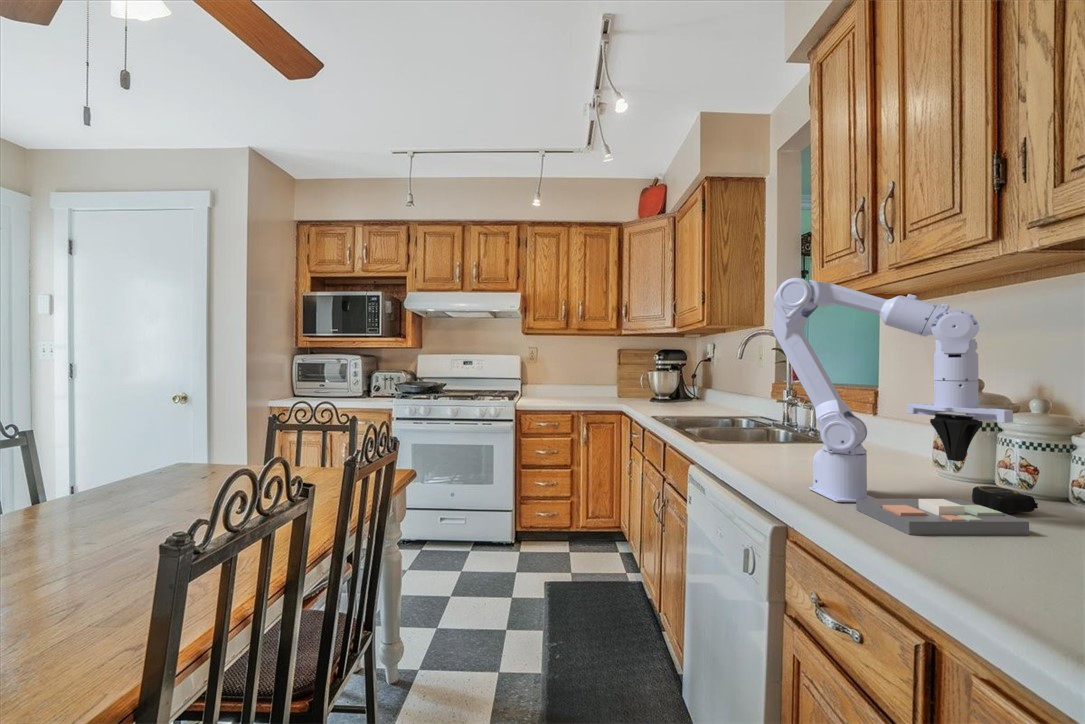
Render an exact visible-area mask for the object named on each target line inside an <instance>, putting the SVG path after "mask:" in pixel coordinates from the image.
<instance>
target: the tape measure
mask: <svg viewBox="0 0 1085 724" xmlns="http://www.w3.org/2000/svg"><path fill="white" fill-rule="evenodd" d="M971 499H972V503H973V504H976V505H981V506H984V507H987V508H990V509H993V510H996V511H999V512H1002V513H1004V514H1014V513H1016V514H1017V513H1030V512H1034V511H1035V509H1036V510H1037V509H1038V508H1039V507H1038V505H1039V503H1038V502H1036V500H1035V498H1034V497H1033V496H1031V495H1028V494H1025V493H1021V492H1019V491H1016V490H1013V489H1010V488H1005V487H999V486H990V485H979V486H974V487H973V488H972V493H971Z"/></svg>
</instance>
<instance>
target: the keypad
mask: <svg viewBox="0 0 1085 724" xmlns="http://www.w3.org/2000/svg"><path fill="white" fill-rule="evenodd" d="M919 499H920V498H876V499H856V502H855V504H856V505H855V507H856V511H858V512H860V513H862V514H864V515H866V516H869V517H871V518H872V519H875V520H877V521H879V522H881V523H883V524H886V525H888V526H889V527H892V528H894V529H896V530H898V531H900V532H902V533H904V534H906V535H908V536H915V535H916V536H921V535H922V536H943V535H945V536H950V535H951V536H967V535H968V536H1014V535H1015V536H1029V535H1030V521H1028V520H1026V519H1023V518H1018V517H1015V516H1013V515H1010V514H1008V513H1003V516H976V515H973V514H971V513H968V512H965V515H957V516H954V515H941V516H938V515H935V514H933V513H930V512H928V511H925V510H922V509H920V508H919ZM943 499H944V500H947V501H950V502H953V503H956V504H959V505H976V504H974V503H973V502H970V501H966V500H964V499H961V498H943ZM882 505H908V506H910V507H913V508H915V509H918V510H921V511H923V512H926V516H900V515H897V514H895V513H893V512H890V511H888V510H886V509H883V508H882Z"/></svg>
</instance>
